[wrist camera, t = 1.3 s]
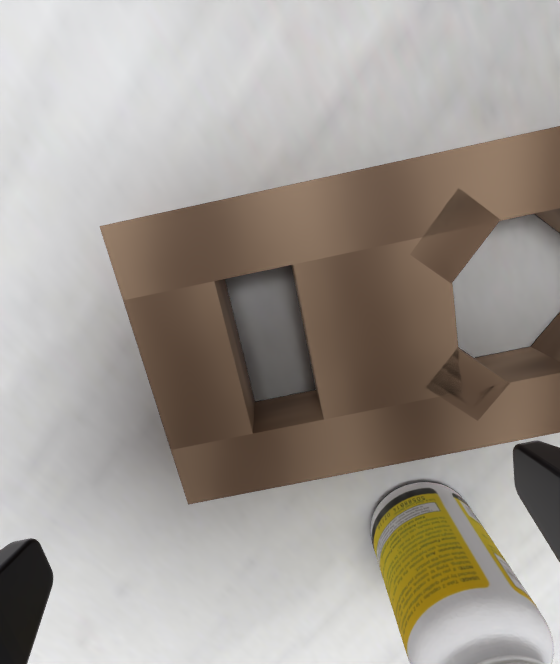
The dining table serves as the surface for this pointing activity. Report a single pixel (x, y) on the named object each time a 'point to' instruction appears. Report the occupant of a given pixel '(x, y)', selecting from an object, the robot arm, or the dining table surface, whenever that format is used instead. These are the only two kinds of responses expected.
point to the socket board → (340, 318)
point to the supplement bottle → (453, 583)
